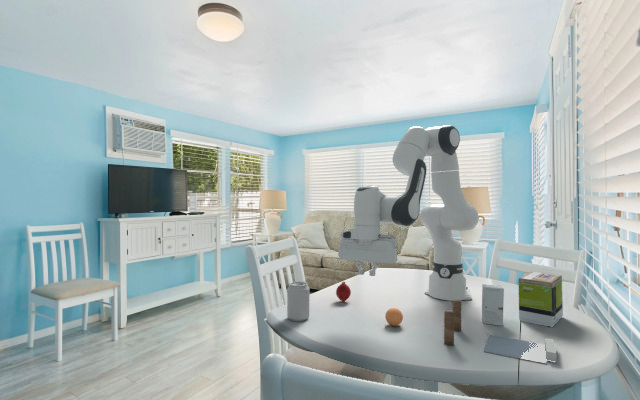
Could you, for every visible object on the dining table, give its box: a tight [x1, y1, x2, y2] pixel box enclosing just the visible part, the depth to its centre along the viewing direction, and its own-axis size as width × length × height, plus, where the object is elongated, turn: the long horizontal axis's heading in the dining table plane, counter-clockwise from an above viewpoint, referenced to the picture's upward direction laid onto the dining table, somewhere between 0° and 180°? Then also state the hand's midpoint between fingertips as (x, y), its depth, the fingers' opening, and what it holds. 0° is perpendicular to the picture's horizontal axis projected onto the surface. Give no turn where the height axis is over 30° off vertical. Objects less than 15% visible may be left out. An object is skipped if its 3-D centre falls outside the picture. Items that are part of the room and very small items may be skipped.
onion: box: [335, 280, 352, 303], centre depth 139 cm, size 6×6×8 cm
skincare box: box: [481, 283, 505, 327], centre depth 115 cm, size 6×4×12 cm
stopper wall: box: [544, 337, 557, 362], centre depth 91 cm, size 10×2×2 cm, turn 149°
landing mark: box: [483, 333, 538, 359], centre depth 95 cm, size 14×14×1 cm
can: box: [286, 281, 311, 322], centre depth 119 cm, size 8×8×12 cm
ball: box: [385, 307, 404, 327], centre depth 112 cm, size 6×6×6 cm
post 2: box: [451, 300, 462, 332], centre depth 109 cm, size 3×3×9 cm
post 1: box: [443, 309, 455, 347], centre depth 98 cm, size 3×3×9 cm
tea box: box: [518, 271, 564, 328], centre depth 120 cm, size 15×10×15 cm, turn 134°
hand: (366, 275), depth 117 cm, fingers open, 3 cm apart
